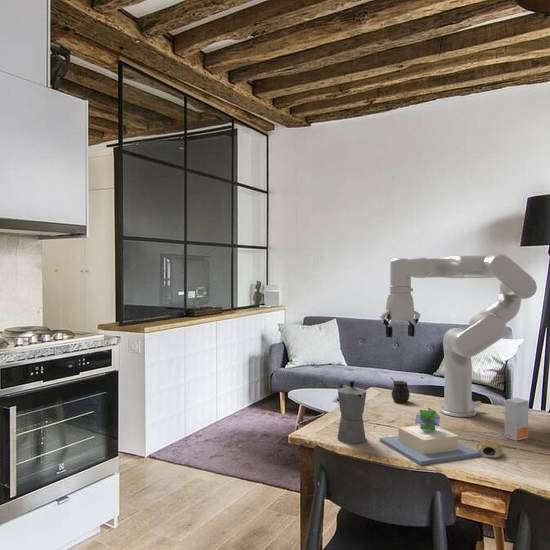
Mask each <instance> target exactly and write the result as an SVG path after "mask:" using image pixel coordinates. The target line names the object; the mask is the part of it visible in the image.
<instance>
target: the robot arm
mask: <svg viewBox="0 0 550 550" xmlns="http://www.w3.org/2000/svg"><path fill="white" fill-rule="evenodd" d="M389 266H390V269H389V271H390V274H389V275H390V282H389V284H390V286H389V288H390V289H389V294H388V295H387V297H386V305H385V311H383V312H382V313H381V314H379V318H380V320H381V322H382V324H383V325H384V327H385V336H386V338H393V326H392V325H393V324H394V322H406V323H408V325H407V335H408V336H409V337H413V338H414V337H415V334H416V333H415V331H416V329H415V328H416V326H417V324H418V322H419V319H420V317H421V313H419V312H418V311H416V310H415V307H414V306H415V305H414V304H415V303H414V298H413V294H412V292H414V289H413V287H412V278H414V279H425V278H426V279H427V278H428V279H429V278H442V279H443V278H446V279H490V278H492V279H495V278H496V279H498V281H500V284H499V293H498V294H499V295H498V298H497V299H496V300H495V302H493V303H492V304H491V305H489V306H488V307H486V308H484V309H483V310H480V312H478V313H477V314H474V315H473V316H472V317H471V318H470V319H469V322H468V328H466V329H464V328H459V327H453V328H450V329H449V330H447V331H446V332H445V334H444V335H443V339H442V347H443V355H444V356H443V357H444V358H443V359H444V385H443V386H444V387H443V388H444V391H443V394H444V401H443V402H444V405H443V406H440V407H439V411H440V412H441V413H442V414H443V415H447V416H450V417H456V418H457V417H459V418H472V417H474V416H476V415H477V411H476V410H475V408H476V407H477V408H478V407H479V408H480V407H482V405H483V404H482V401H480V400H479V401H474V400H472V399H473V398H472V397H473V396H472V394H473V393H472V391H473V390H472V389H473V388H472V386H473V385H472V384H473V383H472V380H473V379H472V378H473V377H472V373H473V368H472V367H473V365H472V364H473V363H472V357H475V356H477V355H479V354H480V353H482V352H484V351H485V350H487V349H488V348H490V347H491V346H493V345H494V344H496V343H497V342H498V341H499V340H501V339H502V338H503V337H504V335H505V334H506V330H507V323H509V322H511V321H512V320H513V319H514V318H515V317H516V316H517V315H518V313H519V311H520V309H521V302H522V300H527V299H530V298H532V297H533V296H534V295H535V294H536V292H537V289H538V285H537V281H535V278H533V277H532V275H530V274H529V273H527V271H526V270H524V269H523V267H522V268H521V266H519V265H518V264H517V263H516V262H515V261H513V260H512V259H511V258H510V257H508V256H506V255H505V254H500V253H499V254H498V253H497V254H485V255H483V254H482V255H455V256H447V257H438V258H437V257H435V258H427V257H418V258H402V257H401V258H400V257H398V258H397V257H396V258H392V259H391V260H390V265H389Z"/></svg>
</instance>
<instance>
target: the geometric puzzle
mask: <svg viewBox="0 0 550 550" xmlns="http://www.w3.org/2000/svg"><path fill="white" fill-rule="evenodd" d="M440 422H441V417H440V414H438V412H437V411H436V410H434V409H432V408H430V407H427V410H426V409H419V411H418V413H416V414H415V422H414V424H415V426H418V425H420V427H421V428H420V427H419V426H418V427H419V428H420V429H427V430H431V431H432V430H435V426H436V428H437V427H440ZM424 432H425V431H424ZM429 432H430V431H429Z"/></svg>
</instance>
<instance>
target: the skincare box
mask: <svg viewBox="0 0 550 550" xmlns="http://www.w3.org/2000/svg"><path fill="white" fill-rule="evenodd" d="M529 403H530V402H529V400H527V399H524V398H519V397H514V398H508V399H505V400H504V438H507V439H510V440H513V441H515V442H516V441H521V440H525V439H528V438H529Z"/></svg>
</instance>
